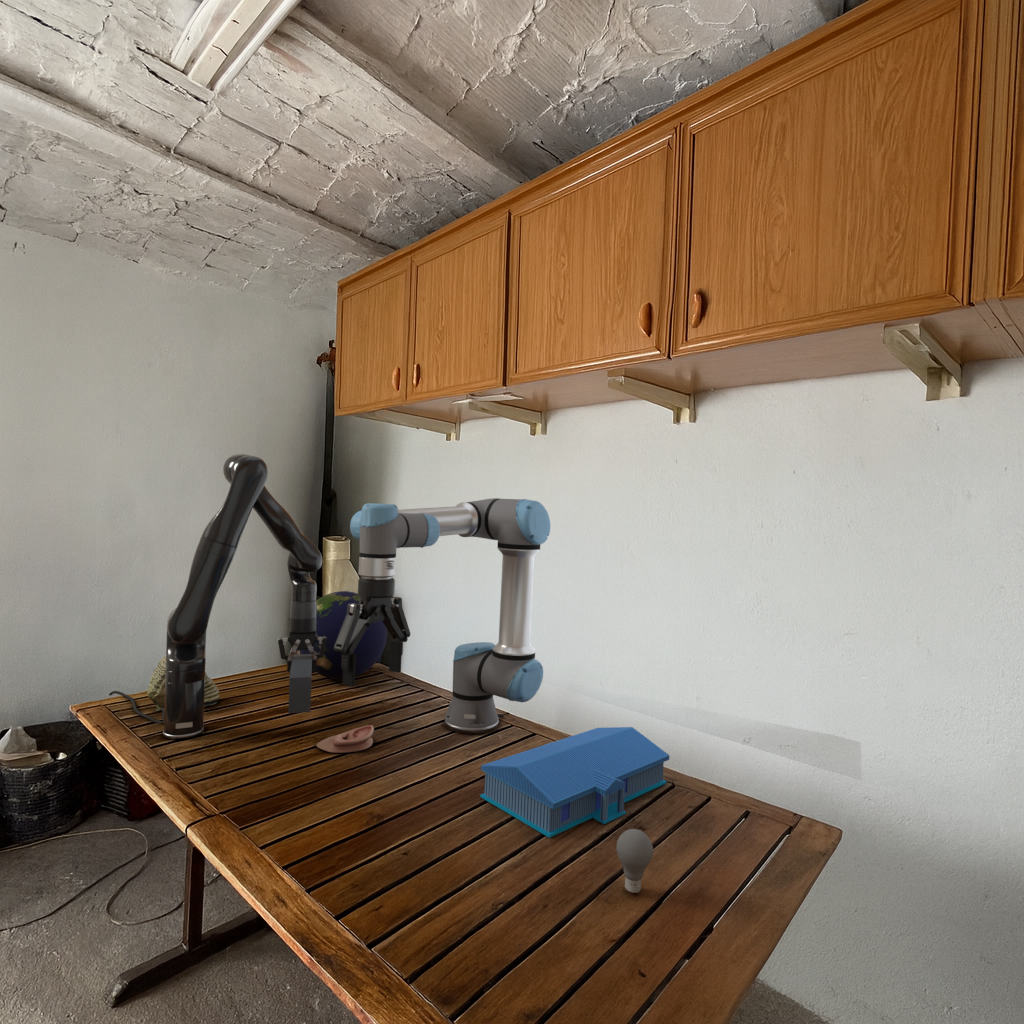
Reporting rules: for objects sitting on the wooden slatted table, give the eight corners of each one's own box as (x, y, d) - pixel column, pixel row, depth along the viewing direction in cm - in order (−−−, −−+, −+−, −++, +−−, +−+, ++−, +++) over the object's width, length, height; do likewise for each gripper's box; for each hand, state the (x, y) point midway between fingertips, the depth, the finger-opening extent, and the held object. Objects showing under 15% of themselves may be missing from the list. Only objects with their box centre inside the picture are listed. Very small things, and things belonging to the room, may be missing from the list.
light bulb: (610, 879, 108) (613, 822, 108) (644, 879, 109) (647, 822, 109) (619, 902, 102) (622, 840, 102) (655, 901, 103) (658, 840, 103)
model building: (561, 845, 119) (564, 792, 119) (478, 796, 137) (480, 750, 137) (678, 787, 145) (680, 744, 145) (596, 753, 163) (598, 714, 163)
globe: (276, 681, 212) (279, 592, 211) (333, 662, 239) (336, 583, 239) (350, 695, 201) (354, 601, 200) (401, 673, 228) (404, 590, 228)
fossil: (144, 707, 182) (145, 655, 182) (212, 696, 194) (213, 647, 194) (151, 716, 175) (153, 662, 175) (221, 703, 188) (223, 653, 188)
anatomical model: (310, 734, 157) (332, 718, 168) (310, 749, 157) (332, 733, 169) (360, 740, 155) (379, 724, 166) (359, 756, 155) (378, 739, 166)
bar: (292, 685, 189) (292, 654, 189) (311, 684, 191) (312, 654, 190) (288, 713, 165) (289, 678, 165) (310, 712, 167) (311, 676, 167)
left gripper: (276, 618, 180) (275, 677, 181) (329, 617, 184) (327, 675, 185) (278, 613, 187) (276, 670, 188) (328, 612, 192) (327, 668, 192)
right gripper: (345, 584, 120) (340, 695, 120) (428, 574, 141) (424, 669, 141) (317, 580, 124) (313, 688, 124) (403, 571, 145) (399, 663, 145)
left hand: (302, 672), depth 186 cm, fingers closed on bar, 5 cm apart
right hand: (372, 678), depth 133 cm, fingers open, 13 cm apart
